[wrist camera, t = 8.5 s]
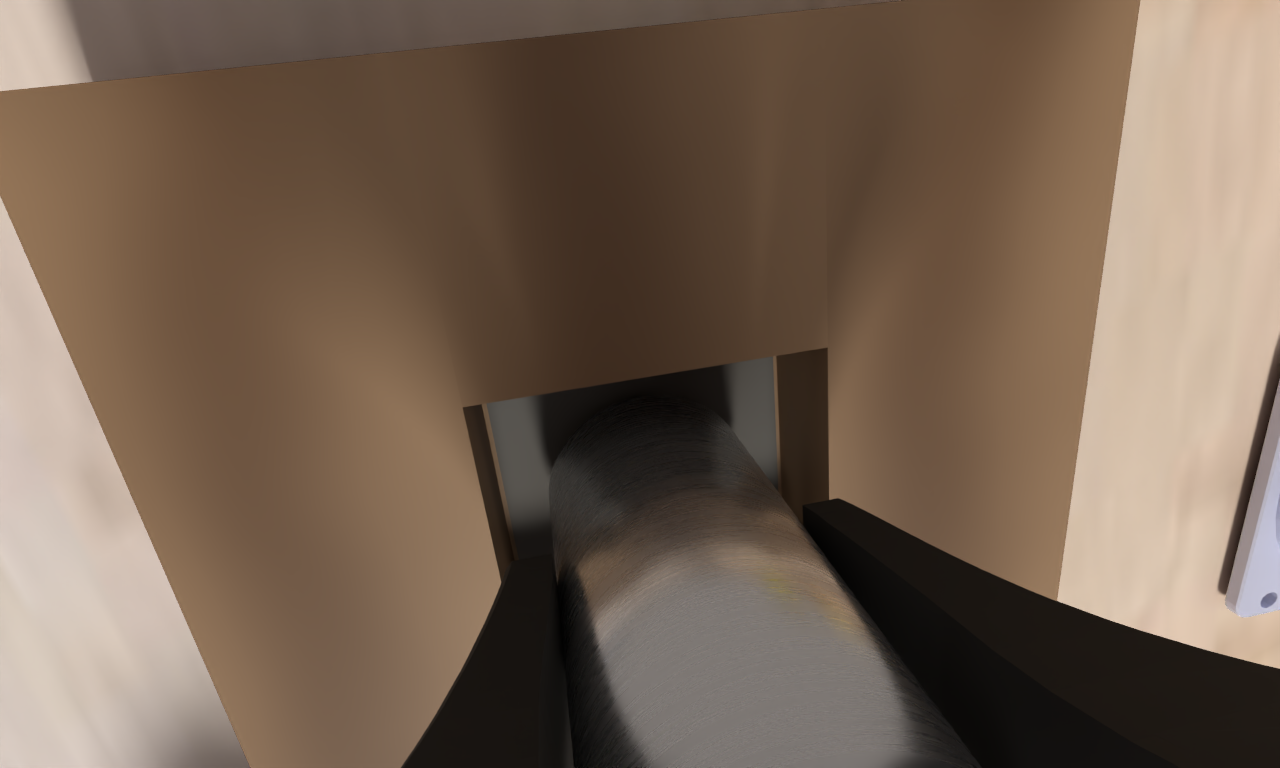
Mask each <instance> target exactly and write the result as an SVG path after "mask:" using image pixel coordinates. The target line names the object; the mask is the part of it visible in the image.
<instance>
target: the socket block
mask: <svg viewBox="0 0 1280 768" xmlns="http://www.w3.org/2000/svg"><path fill="white" fill-rule="evenodd" d="M1139 6H1140V0H903V1H893V2H883V3H873V4H863V5H853V6H843V7H833V8H823V9H813V10H803V11H793V12H784V13H774V14H764V15H754V16H744V17H734V18H724V19H714V20H704V21H694V22H684V23H674V24H664V25H655V26H645V27H635V28H625V29H615V30H605V31H595V32H585V33H575V34H565V35H555V36H545V37H535V38H525V39H516V40H506V41H496V42H486V43H476V44H466V45H456V46H446V47H436V48H426V49H416V50H406V51H396V52H386V53H377V54H367V55H357V56H347V57H337V58H327V59H317V60H307V61H297V62H287V63H277V64H267V65H257V66H248V67H238V68H228V69H218V70H208V71H198V72H188V73H178V74H168V75H158V76H148V77H138V78H128V79H118V80H109V81H99V82H89V83H79V84H69V85H59V86H49V87H39V88H29V89H19V90H9V91H0V196H1V198H2V201H3V203H4V205H5V208H6V210H7V212H8V214H9V217H10V219H11V221H12V224H13V226H14V228H15V230H16V233H17V235H18V237H19V240H20V242H21V244H22V246H23V249H24V251H25V253H26V256H27V258H28V260H29V263H30V265H31V267H32V269H33V272H34V274H35V276H36V279H37V281H38V283H39V285H40V288H41V290H42V292H43V295H44V297H45V299H46V301H47V304H48V306H49V308H50V311H51V313H52V315H53V317H54V320H55V322H56V324H57V327H58V329H59V331H60V333H61V336H62V338H63V340H64V343H65V345H66V347H67V349H68V352H69V354H70V356H71V359H72V361H73V363H74V365H75V368H76V370H77V372H78V375H79V377H80V379H81V381H82V384H83V386H84V388H85V391H86V393H87V395H88V398H89V400H90V402H91V404H92V407H93V409H94V411H95V414H96V416H97V418H98V420H99V423H100V425H101V427H102V430H103V432H104V434H105V436H106V439H107V441H108V443H109V446H110V448H111V450H112V452H113V455H114V457H115V459H116V462H117V464H118V466H119V468H120V471H121V473H122V475H123V478H124V480H125V482H126V484H127V487H128V489H129V491H130V494H131V496H132V498H133V500H134V503H135V505H136V507H137V510H138V512H139V514H140V516H141V519H142V521H143V523H144V526H145V528H146V530H147V532H148V535H149V537H150V539H151V542H152V544H153V546H154V549H155V551H156V553H157V555H158V558H159V560H160V562H161V565H162V567H163V569H164V571H165V574H166V576H167V578H168V581H169V583H170V585H171V587H172V590H173V592H174V594H175V597H176V599H177V601H178V603H179V606H180V608H181V610H182V613H183V615H184V617H185V619H186V622H187V624H188V626H189V629H190V631H191V633H192V635H193V638H194V640H195V642H196V645H197V647H198V649H199V651H200V654H201V656H202V658H203V661H204V663H205V665H206V667H207V670H208V672H209V674H210V677H211V679H212V681H213V683H214V686H215V688H216V690H217V693H218V695H219V697H220V700H221V702H222V704H223V706H224V709H225V711H226V713H227V716H228V718H229V720H230V722H231V725H232V727H233V729H234V732H235V734H236V736H237V738H238V741H239V743H240V745H241V748H242V750H243V752H244V754H245V757H246V759H247V761H248V764H249V766H250V768H401V767H402V765H403V764H404V762H405V761H406V759H407V758H408V756H409V755H410V754H411V752H412V751H413V749H414V748H415V746H416V745H417V743H418V742H419V740H420V739H421V737H422V735H423V734H424V732H425V731H426V729H427V728H428V726H429V724H430V723H431V721H432V720H433V718H434V716H435V715H436V713H437V711H438V710H439V708H440V706H441V704H442V703H443V701H444V699H445V697H446V696H447V694H448V692H449V690H450V689H451V687H452V685H453V683H454V682H455V680H456V678H457V676H458V675H459V673H460V671H461V669H462V667H463V665H464V664H465V662H466V660H467V658H468V656H469V654H470V652H471V650H472V648H473V646H474V644H475V641H476V639H477V637H478V635H479V633H480V631H481V629H482V627H483V625H484V623H485V621H486V619H487V616H488V614H489V612H490V609H491V607H492V605H493V603H494V600H495V598H496V595H497V593H498V590H499V588H500V585H501V582H502V579H503V576H504V573H505V570H506V568H507V567H508V566H509V564H510V563H511V562H512V561H516V560H521V559H526V558H531V557H536V556H542V555H547V554H552V558H553V563H554V569H555V560H554V549H553V539H552V528H551V517H550V507H549V483H550V478H551V472H552V470H553V467H554V464H555V461H556V459H557V457H558V455H559V453H560V451H561V449H562V447H563V446H564V445H565V443H566V442H567V440H568V439H569V437H570V436H571V435H572V434H573V433H574V432H575V431H576V430H577V429H578V428H579V427H580V426H581V425H582V424H583V423H584V422H586V421H587V420H588V419H589V418H591V417H592V416H594V415H595V414H597V413H598V412H600V411H601V410H603V409H605V408H607V407H609V406H611V405H613V404H616V403H619V402H622V401H624V400H628V399H632V398H637V397H642V396H652V395H661V396H673V397H680V398H683V399H687V400H690V401H693V402H696V403H698V404H700V405H703V406H705V407H706V408H708V409H710V410H711V411H713V412H714V413H716V414H717V415H718V416H719V417H721V418H722V419H723V420H724V421H725V422H726V423H727V424H728V425H729V427H730V428H731V429H732V430H733V431H734V433H735V434H736V435H737V437H738V438H739V440H740V441H741V442H742V444H743V445H744V446H745V448H746V449H747V450H748V452H749V453H750V454H751V456H752V457H753V459H754V460H755V461H756V463H757V464H758V465H759V467H760V468H761V469H762V471H763V472H764V473H765V475H766V476H767V477H768V479H769V480H770V482H771V483H772V484H773V486H774V487H775V488H776V490H777V491H778V492H779V494H780V495H781V496H782V498H783V499H784V500H785V502H786V503H787V505H788V506H789V507H790V509H791V510H792V511H793V513H794V514H795V515H796V517H797V518H798V519H799V521H800V522H801V524H802V525H803V507H802V505H805V504H810V503H815V502H821V501H826V500H831V499H836V498H840V499H842V500H844V501H846V502H849V503H851V504H853V505H855V506H857V507H859V508H861V509H863V510H865V511H867V512H869V513H871V514H873V515H875V516H876V517H878V518H880V519H882V520H884V521H886V522H888V523H890V524H892V525H894V526H896V527H898V528H899V529H901V530H903V531H905V532H907V533H909V534H911V535H913V536H915V537H917V538H919V539H921V540H923V541H925V542H927V543H929V544H931V545H933V546H935V547H937V548H939V549H941V550H943V551H945V552H947V553H949V554H951V555H953V556H955V557H957V558H959V559H961V560H963V561H965V562H967V563H969V564H972V565H974V566H976V567H978V568H980V569H982V570H984V571H987V572H989V573H991V574H993V575H996V576H998V577H1000V578H1003V579H1005V580H1007V581H1009V582H1012V583H1014V584H1016V585H1018V586H1021V587H1023V588H1025V589H1028V590H1030V591H1032V592H1035V593H1037V594H1040V595H1042V596H1045V597H1047V598H1050V599H1052V600H1055V601H1057V597H1058V589H1059V582H1060V575H1061V568H1062V561H1063V553H1064V546H1065V539H1066V532H1067V525H1068V517H1069V510H1070V503H1071V496H1072V489H1073V481H1074V474H1075V467H1076V460H1077V453H1078V445H1079V438H1080V431H1081V424H1082V417H1083V409H1084V402H1085V395H1086V388H1087V381H1088V373H1089V366H1090V359H1091V352H1092V344H1093V337H1094V330H1095V323H1096V316H1097V308H1098V301H1099V294H1100V287H1101V280H1102V272H1103V265H1104V258H1105V251H1106V244H1107V236H1108V229H1109V222H1110V215H1111V208H1112V200H1113V193H1114V186H1115V179H1116V172H1117V164H1118V157H1119V150H1120V143H1121V136H1122V128H1123V121H1124V114H1125V107H1126V100H1127V92H1128V85H1129V78H1130V71H1131V63H1132V56H1133V49H1134V42H1135V35H1136V27H1137V20H1138V13H1139ZM555 574H556V571H555Z"/></svg>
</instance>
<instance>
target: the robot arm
mask: <svg viewBox="0 0 1280 768" xmlns="http://www.w3.org/2000/svg"><path fill="white" fill-rule="evenodd" d="M802 507H803V526H804V528H805V529H806V530H807V532H808V533H809V534H810V536H811V537H812V538H813V540H814V541H815V542H816V544H817V545H818V547H819V548H820V549H821V551H822V552H823V553H824V555H825V556H826V557H827V559H828V560H829V561H830V563H831V564H832V565H833V567H834V568H835V570H836V571H837V572H838V574H839V575H840V576H841V578H842V579H843V580H844V582H845V583H846V584H847V586H848V587H849V589H850V590H851V591H852V593H853V594H854V595H855V597H856V598H857V599H858V601H859V602H860V603H861V605H862V606H863V607H864V609H865V610H866V612H867V613H868V614H869V616H870V617H871V618H872V620H873V621H874V622H875V624H876V625H877V626H878V628H879V629H880V631H881V632H882V633H883V635H884V636H885V637H886V639H887V640H888V641H889V643H890V644H891V645H892V647H893V648H894V649H895V651H896V652H897V654H898V655H899V656H900V658H901V659H902V660H903V662H904V663H905V664H906V666H907V667H908V668H909V670H910V671H911V672H912V674H913V675H914V677H915V678H916V679H917V681H918V682H919V683H920V685H921V686H922V687H923V689H924V690H925V691H926V693H927V694H928V696H929V697H930V698H931V700H932V701H933V702H934V704H935V705H936V706H937V708H938V709H939V710H940V712H941V713H942V714H943V716H944V717H945V719H946V720H947V721H948V723H949V724H950V725H951V727H952V728H953V729H954V731H955V732H956V733H957V735H958V736H959V738H960V739H961V740H962V742H963V743H964V744H965V746H966V747H967V748H968V750H969V751H970V752H971V754H972V755H973V756H974V758H975V759H976V761H977V762H978V763H979V765H980V766H981V767H982V768H1280V669H1278V668H1273V667H1269V666H1265V665H1261V664H1256V663H1253V662H1249V661H1245V660H1241V659H1237V658H1233V657H1230V656H1226V655H1222V654H1218V653H1214V652H1211V651H1207V650H1203V649H1200V648H1197V647H1193V646H1190V645H1187V644H1183V643H1180V642H1177V641H1173V640H1170V639H1167V638H1163V637H1160V636H1156V635H1153V634H1150V633H1146V632H1143V631H1140V630H1137V629H1134V628H1131V627H1128V626H1125V625H1122V624H1119V623H1116V622H1113V621H1110V620H1107V619H1104V618H1101V617H1099V616H1096V615H1093V614H1090V613H1088V612H1085V611H1082V610H1079V609H1077V608H1074V607H1071V606H1069V605H1066V604H1063V603H1060V602H1058V601H1055V600H1052V599H1050V598H1047V597H1045V596H1042V595H1040V594H1037V593H1035V592H1032V591H1030V590H1028V589H1025V588H1023V587H1021V586H1018V585H1016V584H1014V583H1012V582H1009V581H1007V580H1005V579H1003V578H1000V577H998V576H996V575H993V574H991V573H989V572H987V571H984V570H982V569H980V568H978V567H976V566H974V565H972V564H969V563H967V562H965V561H963V560H961V559H959V558H957V557H955V556H953V555H951V554H949V553H947V552H945V551H943V550H941V549H939V548H937V547H935V546H933V545H931V544H929V543H927V542H925V541H923V540H921V539H919V538H917V537H915V536H913V535H911V534H909V533H907V532H905V531H903V530H901V529H899V528H898V527H896V526H894V525H892V524H890V523H888V522H886V521H884V520H882V519H880V518H878V517H876V516H875V515H873V514H871V513H869V512H867V511H865V510H863V509H861V508H859V507H857V506H855V505H853V504H851V503H849V502H846V501H844V500H842V499H840V498H836V499H831V500H826V501H821V502H815V503H810V504H805V505H802ZM1225 605H1226V607H1227V608H1228V609H1229V610H1231V611H1232V612H1234V613H1235V614H1237V615H1238V616H1240V617H1251V616H1255V615H1259V614H1264V613H1268V612H1272V611H1277V610H1280V380H1279V384H1278V388H1277V392H1276V396H1275V400H1274V404H1273V408H1272V412H1271V416H1270V420H1269V424H1268V428H1267V432H1266V436H1265V440H1264V444H1263V448H1262V452H1261V456H1260V460H1259V464H1258V468H1257V472H1256V476H1255V480H1254V484H1253V488H1252V492H1251V497H1250V501H1249V505H1248V509H1247V513H1246V517H1245V521H1244V525H1243V529H1242V533H1241V537H1240V541H1239V545H1238V549H1237V553H1236V557H1235V561H1234V565H1233V569H1232V573H1231V577H1230V581H1229V585H1228V589H1227V593H1226V597H1225ZM401 768H574V763H573V752H572V741H571V731H570V720H569V709H568V699H567V688H566V677H565V667H564V656H563V641H562V625H561V614H560V604H559V593H558V585H557V579H556V574H555V569H554V563H553V558H552V554H547V555H542V556H536V557H531V558H526V559H521V560H516V561H512V562H511V563H510V564H509V566H508V567H507V568H506V570H505V573H504V576H503V579H502V582H501V585H500V588H499V590H498V593H497V595H496V598H495V600H494V603H493V605H492V607H491V609H490V612H489V614H488V616H487V619H486V621H485V623H484V625H483V627H482V629H481V631H480V633H479V635H478V637H477V639H476V641H475V644H474V646H473V648H472V650H471V652H470V654H469V656H468V658H467V660H466V662H465V664H464V665H463V667H462V669H461V671H460V673H459V675H458V676H457V678H456V680H455V682H454V683H453V685H452V687H451V689H450V690H449V692H448V694H447V696H446V697H445V699H444V701H443V703H442V704H441V706H440V708H439V710H438V711H437V713H436V715H435V716H434V718H433V720H432V721H431V723H430V724H429V726H428V728H427V729H426V731H425V732H424V734H423V735H422V737H421V739H420V740H419V742H418V743H417V745H416V746H415V748H414V749H413V751H412V752H411V754H410V755H409V756H408V758H407V759H406V761H405V762H404V764H403V765H402V767H401Z"/></svg>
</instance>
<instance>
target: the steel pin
mask: <svg viewBox="0 0 1280 768" xmlns="http://www.w3.org/2000/svg"><path fill="white" fill-rule="evenodd" d="M549 507H550V517H551V528H552V539H553V549H554V560H555V571H556V579H557V585H558V593H559V604H560V614H561V625H562V641H563V656H564V667H565V677H566V688H567V699H568V709H569V720H570V731H571V741H572V752H573V763H574V768H982V767H981V766H980V765H979V763H978V762H977V761H976V759H975V758H974V756H973V755H972V754H971V752H970V751H969V750H968V748H967V747H966V746H965V744H964V743H963V742H962V740H961V739H960V738H959V736H958V735H957V733H956V732H955V731H954V729H953V728H952V727H951V725H950V724H949V723H948V721H947V720H946V719H945V717H944V716H943V714H942V713H941V712H940V710H939V709H938V708H937V706H936V705H935V704H934V702H933V701H932V700H931V698H930V697H929V696H928V694H927V693H926V691H925V690H924V689H923V687H922V686H921V685H920V683H919V682H918V681H917V679H916V678H915V677H914V675H913V674H912V672H911V671H910V670H909V668H908V667H907V666H906V664H905V663H904V662H903V660H902V659H901V658H900V656H899V655H898V654H897V652H896V651H895V649H894V648H893V647H892V645H891V644H890V643H889V641H888V640H887V639H886V637H885V636H884V635H883V633H882V632H881V631H880V629H879V628H878V626H877V625H876V624H875V622H874V621H873V620H872V618H871V617H870V616H869V614H868V613H867V612H866V610H865V609H864V607H863V606H862V605H861V603H860V602H859V601H858V599H857V598H856V597H855V595H854V594H853V593H852V591H851V590H850V589H849V587H848V586H847V584H846V583H845V582H844V580H843V579H842V578H841V576H840V575H839V574H838V572H837V571H836V570H835V568H834V567H833V565H832V564H831V563H830V561H829V560H828V559H827V557H826V556H825V555H824V553H823V552H822V551H821V549H820V548H819V547H818V545H817V544H816V542H815V541H814V540H813V538H812V537H811V536H810V534H809V533H808V532H807V530H806V529H805V528H804V526H803V525H802V524H801V522H800V521H799V519H798V518H797V517H796V515H795V514H794V513H793V511H792V510H791V509H790V507H789V506H788V505H787V503H786V502H785V500H784V499H783V498H782V496H781V495H780V494H779V492H778V491H777V490H776V488H775V487H774V486H773V484H772V483H771V482H770V480H769V479H768V477H767V476H766V475H765V473H764V472H763V471H762V469H761V468H760V467H759V465H758V464H757V463H756V461H755V460H754V459H753V457H752V456H751V454H750V453H749V452H748V450H747V449H746V448H745V446H744V445H743V444H742V442H741V441H740V440H739V438H738V437H737V435H736V434H735V433H734V431H733V430H732V429H731V428H730V427H729V425H728V424H727V423H726V422H725V421H724V420H723V419H722V418H721V417H719V416H718V415H717V414H716V413H714V412H713V411H711V410H710V409H708V408H706V407H705V406H703V405H700V404H698V403H696V402H693V401H690V400H687V399H683V398H680V397H673V396H661V395H652V396H642V397H637V398H632V399H628V400H624V401H622V402H619V403H616V404H613V405H611V406H609V407H607V408H605V409H603V410H601V411H600V412H598V413H597V414H595V415H594V416H592V417H591V418H589V419H588V420H587V421H586V422H584V423H583V424H582V425H581V426H580V427H579V428H578V429H577V430H576V431H575V432H574V433H573V434H572V435H571V436H570V437H569V439H568V440H567V442H566V443H565V445H564V446H563V447H562V449H561V451H560V453H559V455H558V457H557V459H556V461H555V464H554V467H553V470H552V472H551V478H550V483H549Z"/></svg>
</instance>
